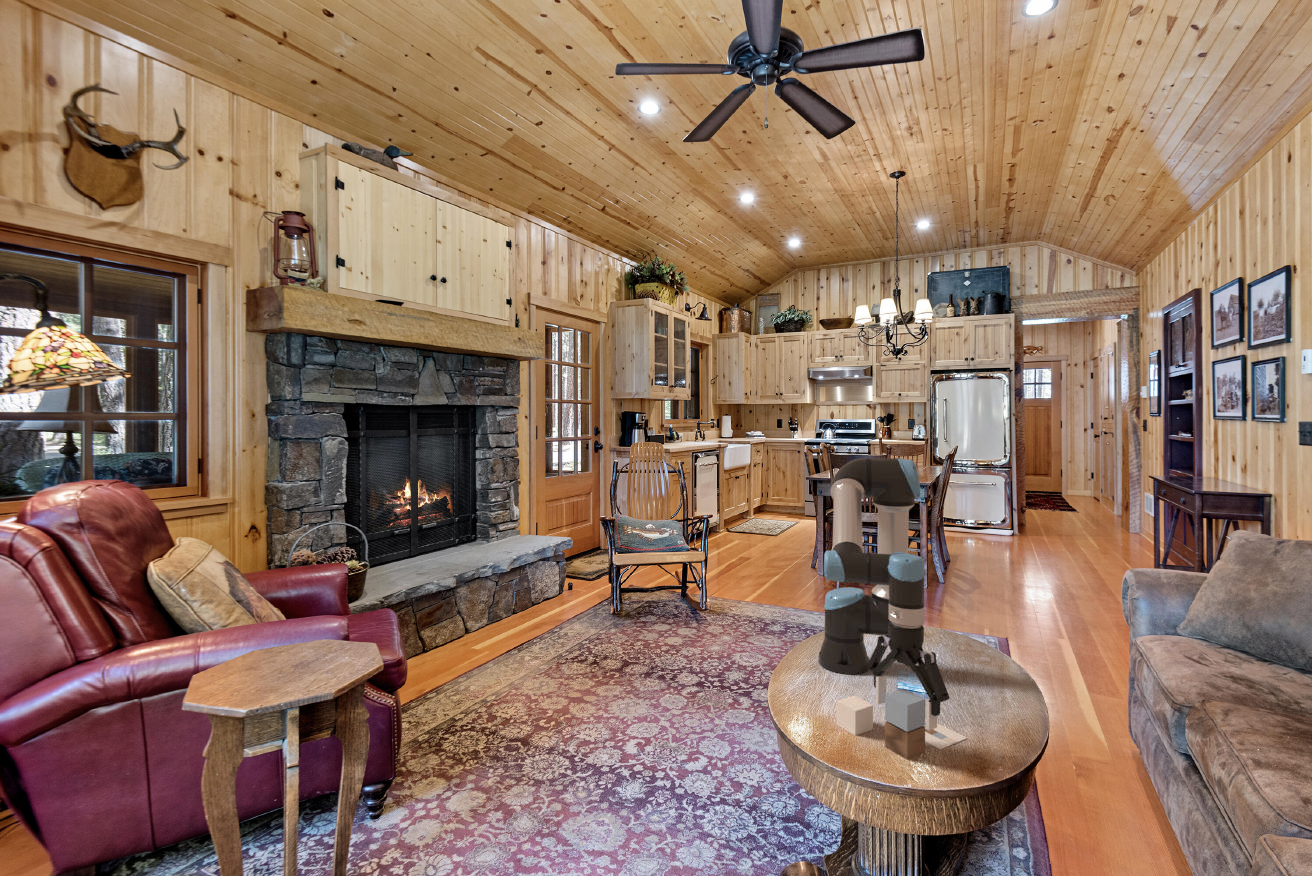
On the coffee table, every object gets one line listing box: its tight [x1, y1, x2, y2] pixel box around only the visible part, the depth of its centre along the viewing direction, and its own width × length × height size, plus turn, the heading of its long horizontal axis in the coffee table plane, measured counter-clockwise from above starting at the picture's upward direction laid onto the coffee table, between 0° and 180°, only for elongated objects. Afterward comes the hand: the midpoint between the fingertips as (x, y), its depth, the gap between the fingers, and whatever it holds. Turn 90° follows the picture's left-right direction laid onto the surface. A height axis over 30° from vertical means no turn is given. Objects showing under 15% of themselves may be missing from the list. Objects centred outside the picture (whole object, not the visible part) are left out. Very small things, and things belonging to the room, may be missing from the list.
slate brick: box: [884, 688, 926, 732], centre depth 136 cm, size 6×6×6 cm
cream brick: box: [836, 695, 874, 736], centre depth 147 cm, size 6×6×6 cm
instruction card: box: [924, 722, 968, 751], centre depth 142 cm, size 8×10×1 cm
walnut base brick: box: [884, 720, 926, 761], centre depth 136 cm, size 6×6×6 cm
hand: (905, 715), depth 136 cm, fingers open, 13 cm apart
